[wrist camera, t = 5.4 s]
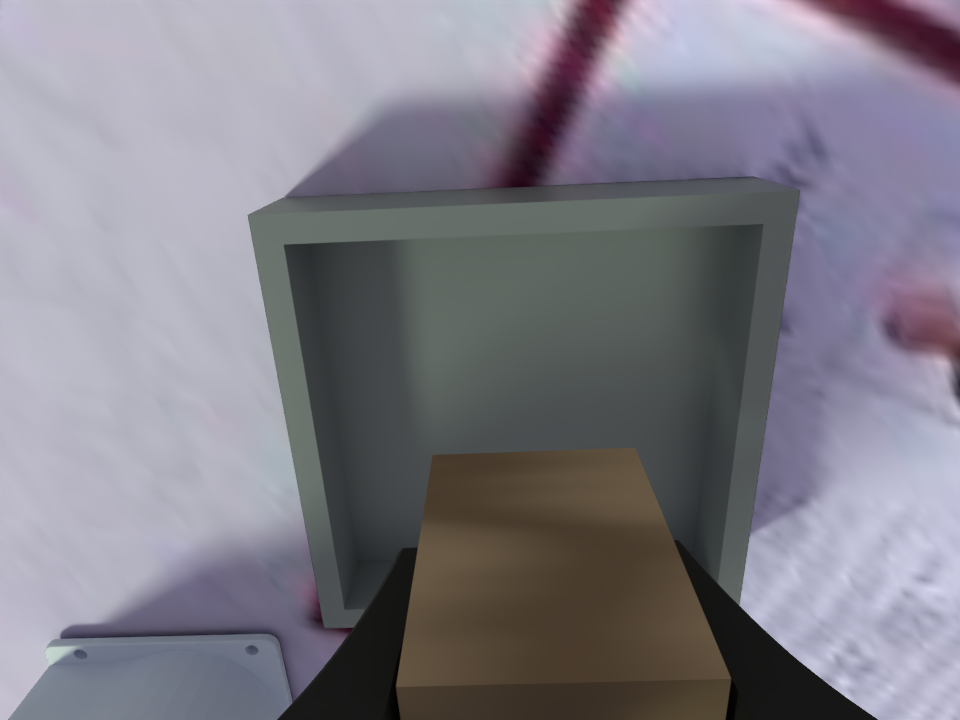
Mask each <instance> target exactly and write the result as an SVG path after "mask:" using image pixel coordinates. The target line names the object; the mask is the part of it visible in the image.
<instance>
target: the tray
mask: <svg viewBox="0 0 960 720" xmlns="http://www.w3.org/2000/svg"><path fill="white" fill-rule="evenodd" d="M799 194H800V190H797V189H793V188H790V187H787V186H783V185H780V184H777V183H773V182H770V181H766V180H763V179H760V178H756V177H734V178H712V179H689V180H667V181H645V182H623V183H601V184H578V185H556V186H534V187H512V188H489V189H467V190H445V191H423V192H401V193H378V194H356V195H334V196H312V197H290V198H281V199H279V200H277V201H275V202H273V203H271V204H269V205H267V206H265V207H263V208H261V209H259V210H257V211H255V212H253V213H251V214H249V215H248V220H249V225H250V230H251V236H252V241H253V247H254V252H255V257H256V263H257V268H258V274H259V279H260V284H261V290H262V295H263V301H264V306H265V311H266V317H267V322H268V328H269V333H270V338H271V344H272V349H273V354H274V360H275V365H276V371H277V376H278V381H279V387H280V392H281V398H282V403H283V408H284V414H285V419H286V425H287V430H288V435H289V441H290V446H291V452H292V457H293V462H294V468H295V473H296V479H297V484H298V489H299V495H300V500H301V506H302V511H303V516H304V522H305V527H306V533H307V538H308V543H309V549H310V554H311V560H312V565H313V570H314V576H315V581H316V587H317V592H318V597H319V603H320V608H321V614H322V619H323V624H324V628H354V626H355V625H356V623H357V622H358V621H359V619H360V617H361V616H362V614H363V613H364V611H365V610H366V608H367V607H368V605H369V604H370V602H371V600H372V599H373V597H374V596H375V594H376V593H377V591H378V589H379V587H380V586H381V584H382V582H383V581H384V579H385V577H386V575H387V574H388V572H389V570H390V568H391V566H392V564H393V562H394V561H395V559H396V556H397V554H398V552H399V551H401V550H402V549H403V548H416V547H418V544H419V538H420V531H421V525H422V519H423V512H424V506H425V500H426V493H427V487H428V481H429V474H430V468H431V462H432V455H444V454H472V453H500V452H528V451H556V450H584V449H612V448H635V449H636V451H637V454H638V456H639V458H640V461H641V463H642V466H643V468H644V470H645V473H646V475H647V478H648V480H649V482H650V485H651V487H652V490H653V492H654V494H655V497H656V499H657V502H658V504H659V506H660V509H661V511H662V514H663V516H664V518H665V521H666V523H667V526H668V528H669V530H670V533H671V535H672V538H673V540H679V541H680V542H681V543H682V544H683V545H684V546H685V548H686V549H687V550H688V551H689V552H690V553H691V554H692V555H693V557H694V558H695V559H696V560H697V561H698V562H699V563H700V564H701V566H702V567H703V568H704V569H705V570H706V571H707V572H708V573H709V574H710V575H711V577H712V578H713V579H714V580H715V581H716V582H717V583H718V584H719V585H720V586H721V587H722V588H723V589H724V591H725V592H726V593H727V594H728V595H729V596H730V597H731V598H732V599H733V600H734V601H735V602H736V603H737V604H738V605H739V604H740V597H741V590H742V584H743V577H744V570H745V563H746V556H747V549H748V543H749V536H750V529H751V522H752V515H753V508H754V502H755V495H756V488H757V481H758V474H759V467H760V461H761V454H762V447H763V440H764V433H765V427H766V420H767V413H768V406H769V399H770V392H771V386H772V379H773V372H774V365H775V358H776V351H777V345H778V338H779V331H780V324H781V317H782V310H783V304H784V297H785V290H786V283H787V276H788V269H789V263H790V256H791V249H792V242H793V235H794V229H795V222H796V215H797V208H798V201H799Z"/></svg>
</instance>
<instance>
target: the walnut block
mask: <svg viewBox="0 0 960 720" xmlns="http://www.w3.org/2000/svg"><path fill="white" fill-rule="evenodd" d="M730 685H731V677H730V674H729V672H728V670H727V667H726V665H725V662H724V660H723V658H722V655H721V653H720V650H719V648H718V646H717V643H716V641H715V638H714V636H713V634H712V631H711V629H710V626H709V624H708V622H707V619H706V617H705V614H704V612H703V610H702V607H701V605H700V602H699V600H698V598H697V595H696V593H695V590H694V588H693V586H692V583H691V581H690V578H689V576H688V574H687V571H686V569H685V566H684V564H683V562H682V559H681V557H680V554H679V552H678V550H677V547H676V545H675V542H674V540H673V538H672V535H671V533H670V530H669V528H668V526H667V523H666V521H665V518H664V516H663V514H662V511H661V509H660V506H659V504H658V502H657V499H656V497H655V494H654V492H653V490H652V487H651V485H650V482H649V480H648V478H647V475H646V473H645V470H644V468H643V466H642V463H641V461H640V458H639V456H638V454H637V451H636V449H635V448H612V449H584V450H556V451H528V452H500V453H472V454H444V455H432V462H431V468H430V474H429V481H428V487H427V493H426V500H425V506H424V512H423V519H422V525H421V531H420V538H419V544H418V550H417V557H416V563H415V569H414V576H413V582H412V588H411V595H410V601H409V607H408V614H407V620H406V627H405V633H404V639H403V646H402V652H401V658H400V665H399V671H398V677H397V684H396V691H397V698H398V705H399V712H400V720H726V713H727V706H728V699H729V692H730Z"/></svg>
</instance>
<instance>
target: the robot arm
mask: <svg viewBox="0 0 960 720" xmlns="http://www.w3.org/2000/svg"><path fill="white" fill-rule="evenodd" d="M674 542H675V545H676V547H677V550H678V552H679V554H680V557H681V559H682V562H683V564H684V566H685V569H686V571H687V574H688V576H689V578H690V581H691V583H692V586H693V588H694V590H695V593H696V595H697V598H698V600H699V602H700V605H701V607H702V610H703V612H704V614H705V617H706V619H707V622H708V624H709V626H710V629H711V631H712V634H713V636H714V638H715V641H716V643H717V646H718V648H719V650H720V653H721V655H722V658H723V660H724V662H725V665H726V667H727V670H728V672H729V674H730V677H731V685H730V692H729V699H728V706H727V713H726V720H878V719H876V718H875V717H873V716H872V715H870V714H869V713H867V712H866V711H865V710H863V709H862V708H860V707H859V706H857V705H856V704H854V703H853V702H852V701H850V700H849V699H847V698H846V697H845V696H843V695H842V694H841V693H839V692H838V691H836V690H835V689H834V688H832V687H831V686H830V685H828V684H827V683H826V682H825V681H823V680H822V679H821V678H820V677H818V676H817V675H816V674H815V673H813V672H812V671H811V670H810V669H808V668H807V667H806V666H804V665H803V664H802V663H801V662H799V661H798V660H797V659H796V658H795V657H793V656H792V655H791V654H790V653H789V652H788V651H787V650H785V649H784V648H783V647H782V646H781V645H780V644H779V643H778V642H777V641H775V640H774V639H773V638H772V637H771V636H770V635H769V634H768V633H767V632H766V631H765V630H763V629H762V628H761V627H760V626H759V625H758V624H757V623H756V622H755V621H754V620H753V619H752V618H751V617H750V616H749V615H748V614H747V613H746V612H745V611H744V610H743V609H742V608H741V607H740V606H739V605H738V604H737V603H736V602H735V601H734V600H733V599H732V598H731V597H730V596H729V595H728V594H727V593H726V592H725V591H724V589H723V588H722V587H721V586H720V585H719V584H718V583H717V582H716V581H715V580H714V579H713V578H712V577H711V575H710V574H709V573H708V572H707V571H706V570H705V569H704V568H703V567H702V566H701V564H700V563H699V562H698V561H697V560H696V559H695V558H694V557H693V555H692V554H691V553H690V552H689V551H688V550H687V549H686V548H685V546H684V545H683V544H682V543H681V542H680V541H679V540H674ZM417 550H418V547H416V548H403V549H402V550H401V551H399V552H398V554H397V556H396V559H395V561H394V562H393V564H392V566H391V568H390V570H389V572H388V574H387V575H386V577H385V579H384V581H383V582H382V584H381V586H380V587H379V589H378V591H377V593H376V594H375V596H374V597H373V599H372V600H371V602H370V604H369V605H368V607H367V608H366V610H365V611H364V613H363V614H362V616H361V617H360V619H359V621H358V622H357V623H356V625H355V626H354V628H353V629H352V631H351V632H350V633H349V635H348V636H347V637H346V639H345V640H344V641H343V643H342V644H341V646H340V647H339V648H338V650H337V651H336V652H335V654H334V655H333V656H332V658H331V659H330V660H329V661H328V663H327V664H326V665H325V666H324V668H323V669H322V670H321V671H320V673H319V674H318V675H317V676H316V677H315V678H314V680H313V681H312V682H311V683H310V684H309V685H308V687H307V688H306V689H305V690H304V691H303V692H302V693H301V694H300V696H299V697H298V698H297V699H296V700H295V701H294V702H292V697H291V693H290V688H289V684H288V679H287V675H286V670H285V666H284V662H283V657H282V653H281V648H280V644H279V641H278V639H277V638H276V637H274V636H273V635H270V634H235V635H196V636H156V637H116V638H76V639H55V640H53V641H51V642H50V643H49V645H48V646H47V647H46V649H45V656H46V658H47V660H48V663H49V665H50V666H49V667H48V669H47V670H46V671H45V673H44V674H43V675H42V676H41V678H40V679H39V680H38V682H37V683H36V684H35V685H34V687H33V688H32V689H31V691H30V692H29V693H28V695H27V696H26V697H25V698H24V700H23V701H22V702H21V704H20V705H19V706H18V707H17V709H16V710H15V711H14V713H13V714H12V715H11V717H10V718H9V719H8V720H400V712H399V705H398V698H397V691H396V684H397V677H398V671H399V665H400V658H401V652H402V646H403V639H404V633H405V627H406V620H407V614H408V607H409V601H410V595H411V588H412V582H413V576H414V569H415V563H416V557H417ZM251 645H252V646H251ZM253 646H255V647H253Z"/></svg>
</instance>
